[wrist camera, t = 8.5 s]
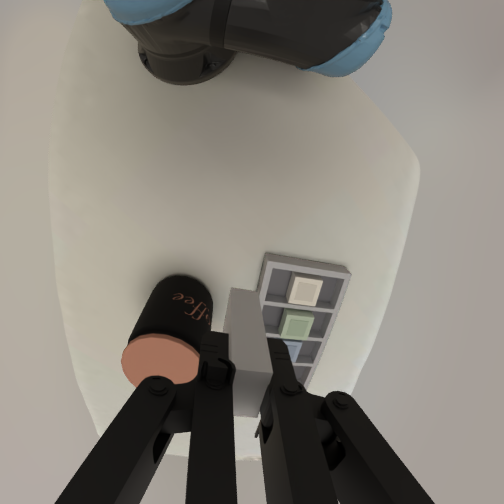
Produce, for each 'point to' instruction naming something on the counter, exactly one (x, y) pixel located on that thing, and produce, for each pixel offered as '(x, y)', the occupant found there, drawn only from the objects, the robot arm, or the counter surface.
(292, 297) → the key ivory
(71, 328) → the counter surface
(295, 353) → the key slate
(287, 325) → the key sage
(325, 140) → the counter surface
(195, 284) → the coffee jar
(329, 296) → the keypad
